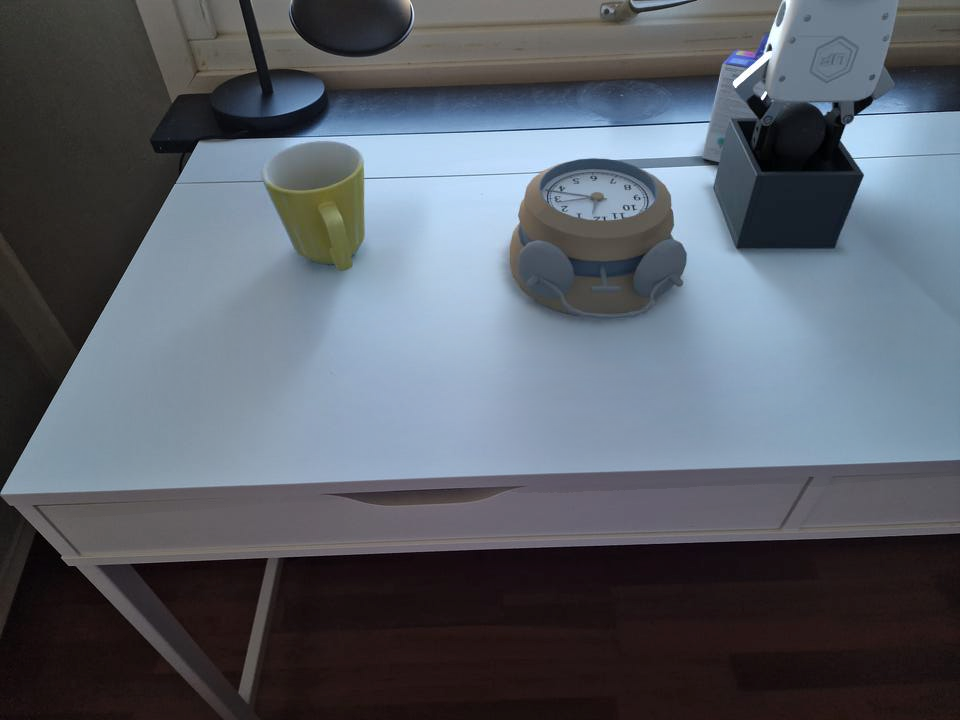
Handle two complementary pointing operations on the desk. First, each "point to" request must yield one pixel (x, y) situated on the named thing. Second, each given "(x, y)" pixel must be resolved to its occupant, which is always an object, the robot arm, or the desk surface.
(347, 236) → the mug
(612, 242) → the alarm clock
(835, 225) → the trash bin
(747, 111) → the ink cartridge box
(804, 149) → the light bulb
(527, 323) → the desk surface
